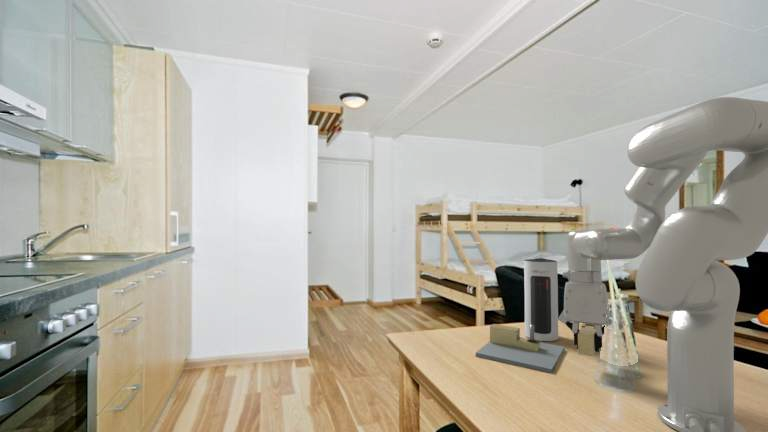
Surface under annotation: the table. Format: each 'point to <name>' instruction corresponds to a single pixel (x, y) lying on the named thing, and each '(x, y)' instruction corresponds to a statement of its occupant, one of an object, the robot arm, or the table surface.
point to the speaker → (541, 298)
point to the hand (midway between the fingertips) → (588, 348)
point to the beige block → (587, 340)
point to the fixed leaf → (513, 338)
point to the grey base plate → (524, 356)
